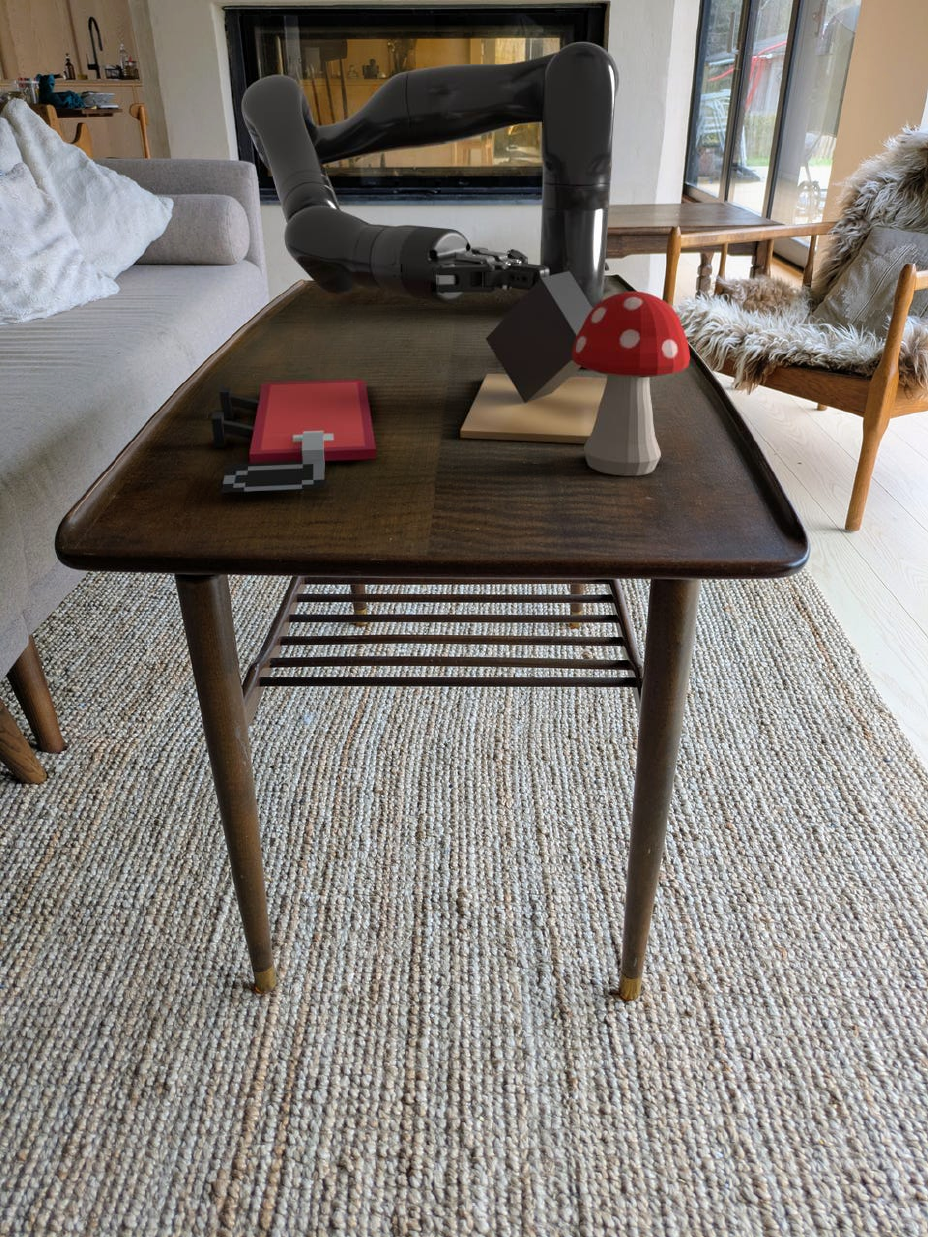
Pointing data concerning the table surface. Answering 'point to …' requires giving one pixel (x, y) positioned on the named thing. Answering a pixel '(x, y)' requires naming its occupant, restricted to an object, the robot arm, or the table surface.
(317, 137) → the robot arm
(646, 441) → the decorative mushroom
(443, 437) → the table surface
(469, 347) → the table surface
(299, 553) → the table surface
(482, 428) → the wooden board
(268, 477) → the red board with handle
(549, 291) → the tall charcoal box
